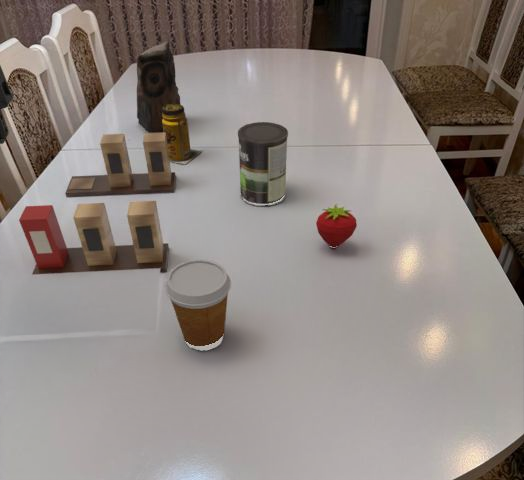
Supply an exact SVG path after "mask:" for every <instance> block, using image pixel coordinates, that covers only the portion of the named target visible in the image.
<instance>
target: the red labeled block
mask: <svg viewBox="0 0 524 480" xmlns="http://www.w3.org/2000/svg"><path fill="white" fill-rule="evenodd" d="M53 205H54V204H44V205H26V206H25V207H24V209H23V211H22V213H21V215H20V217H19V219H18V221H19V224H20V226H21V229H22V231H23V233H24V236H25V239H26V241H27V244H28V246H29V249H30V250H31V254H32V256H33V259H34V261H35V265H36V264H37V266H38V268H55V267H64V265H65V262H66V259H67V256H68V250H67V248H68V247H67V244H66V242H65V238H64V235H63V233H62V229H61V226H60V223H59V220H58V218H57V215H56V214H57V213H56V211H55V209H54V206H53Z"/></svg>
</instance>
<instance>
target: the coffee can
mask: <svg viewBox="0 0 524 480" xmlns="http://www.w3.org/2000/svg"><path fill="white" fill-rule="evenodd" d="M288 137H289V130H288V129H287V128H286V127H285V126H284V125H281V124H279V123H275V122H269V121H257V122H251V123H248V124H247V123H246V124H245V125H242V126H241V127H240V128H238V130H237V138H238V155H239V156H238V159H239V160H238V161H239V185H240V186H239V187H240V190H239V191H240V193H241V196H242V197H243V198H244V199H245V200H246V201H248V202H251V203H256V204H269V203H273V202H276V201H278V200H280V199H281V198H282V197H283V196H284V195H285V194H286V183H287V153H288ZM241 196H240V199H241V200H242V198H241ZM284 200H285V198H284V199H283V200H282V201H281V202H279V203H277V204H273V205H268V206H267V207H271V206H275V205H278V204H280V203H283V201H284ZM242 201H243V202H244V203H245V204H248V205H251V206H254V207H258V206H257V205H252V204H249V203H247V202H245V201H244V200H242Z"/></svg>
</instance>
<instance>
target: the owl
mask: <svg viewBox="0 0 524 480" xmlns="http://www.w3.org/2000/svg"><path fill="white" fill-rule="evenodd" d="M136 77H137V78H136V79H137V81H136V118H137V120H138V121H137V123H138V124H139V125H140V126H141V127H142V128H143V129H144V130H145V131H146V132H147V133H162V132H164V131H163V126H162V120H163V113H162V108H163V107H164V106H165V105H168V104H180V105H182V104H181V96H180V94H179V87H178V86H177V82H176V77H177V76H176V66H175V58H174V56H173V53H172V50H171V48H170V41H169V40H166V41H165V42H162V43H160V44H157V45H154V46H152V47H151V48H148V49H146V50H144V51H143V52H142V53H139V54H138V55H137V57H136Z"/></svg>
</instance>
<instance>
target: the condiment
mask: <svg viewBox="0 0 524 480" xmlns="http://www.w3.org/2000/svg"><path fill="white" fill-rule="evenodd" d="M180 104H181V103H180ZM180 104H168V105H165V106H164V107H163V108H162V113H163V120H162V126H163V131H164V132H166V138H167V145H168V152H169V159H170V163H176V164H180V165H181V164H182V165H186V164H187V163H189V162H190V161H191V160H193V159H195V157H197V156H198V155H200V154H201V152H203V150H200V149H199V150H198V149H193V148H191V141H190V132H189V131H190V130H189V124H188V118H187V117H186V112H185V107H184V106H183V105H182V104H181V105H180Z"/></svg>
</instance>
